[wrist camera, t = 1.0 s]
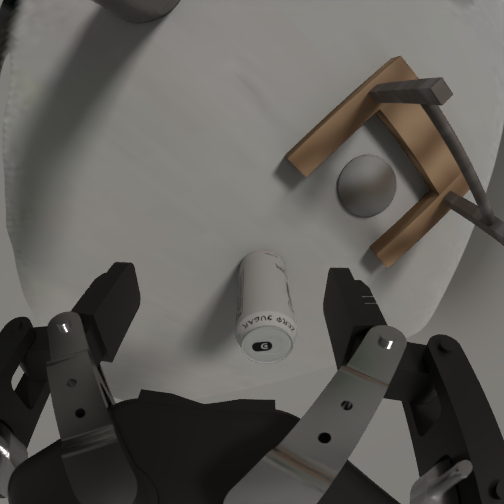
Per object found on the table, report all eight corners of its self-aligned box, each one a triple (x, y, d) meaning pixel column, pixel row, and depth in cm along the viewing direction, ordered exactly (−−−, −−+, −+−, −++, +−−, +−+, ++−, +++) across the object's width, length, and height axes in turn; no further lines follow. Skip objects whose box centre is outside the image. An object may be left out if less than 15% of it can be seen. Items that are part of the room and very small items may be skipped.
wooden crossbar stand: (284, 155, 34) (309, 188, 20) (391, 58, 28) (468, 40, 14) (380, 259, 40) (430, 330, 26) (468, 174, 34) (542, 212, 20)
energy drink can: (286, 283, 42) (300, 363, 28) (243, 288, 42) (240, 370, 28) (282, 244, 39) (298, 318, 25) (236, 249, 39) (229, 325, 26)
